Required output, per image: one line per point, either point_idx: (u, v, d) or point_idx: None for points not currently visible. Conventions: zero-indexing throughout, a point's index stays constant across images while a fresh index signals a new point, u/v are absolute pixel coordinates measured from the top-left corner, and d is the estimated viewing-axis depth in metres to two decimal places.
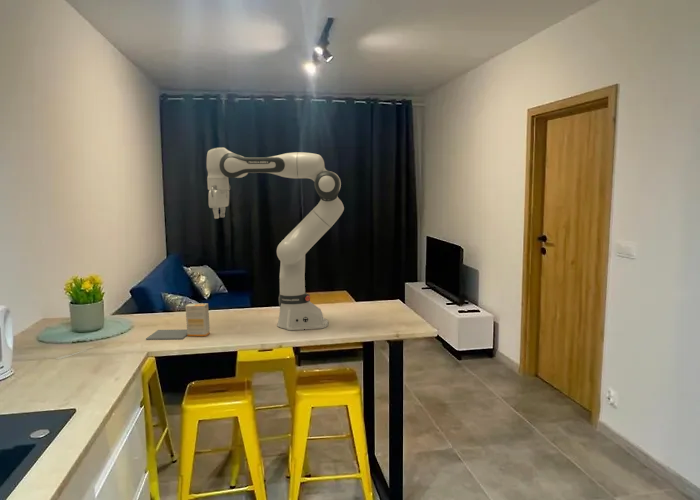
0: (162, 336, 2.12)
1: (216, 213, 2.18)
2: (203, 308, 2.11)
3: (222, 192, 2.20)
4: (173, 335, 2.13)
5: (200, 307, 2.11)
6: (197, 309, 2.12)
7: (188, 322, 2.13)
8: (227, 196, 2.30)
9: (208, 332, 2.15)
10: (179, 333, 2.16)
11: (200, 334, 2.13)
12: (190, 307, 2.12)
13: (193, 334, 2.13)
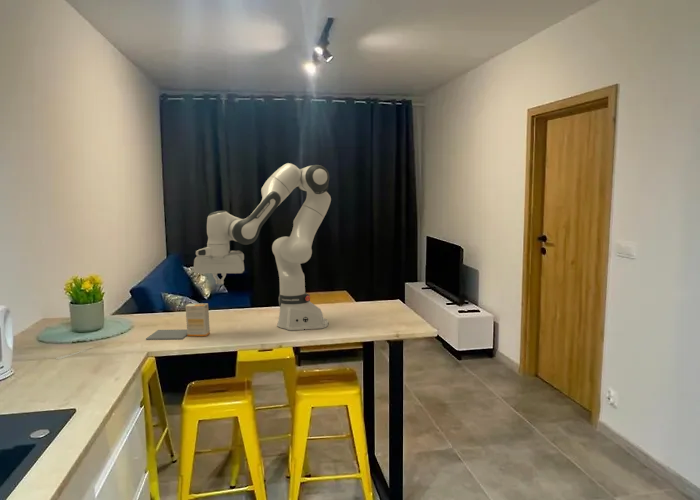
0: (162, 336, 2.12)
1: (223, 278, 2.13)
2: (203, 308, 2.11)
3: None
4: (173, 335, 2.13)
5: (200, 307, 2.11)
6: (197, 309, 2.12)
7: (188, 322, 2.13)
8: None
9: (208, 332, 2.15)
10: (179, 333, 2.16)
11: (200, 334, 2.13)
12: (190, 307, 2.12)
13: (193, 334, 2.13)
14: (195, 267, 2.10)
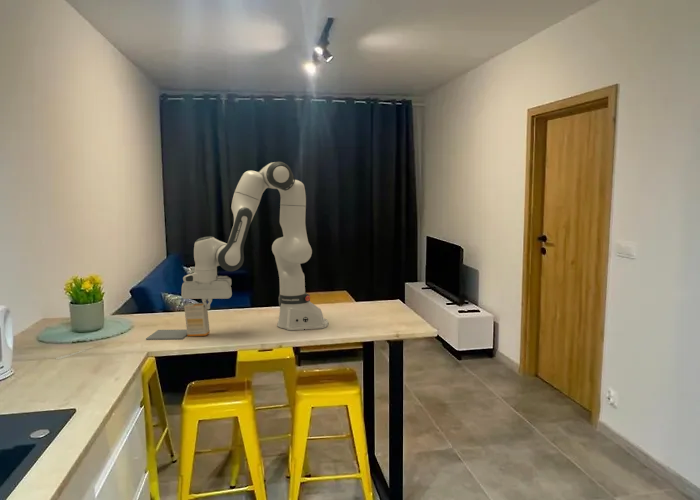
0: (162, 336, 2.12)
1: (210, 303, 2.14)
2: (202, 307, 2.11)
3: None
4: (173, 335, 2.13)
5: (199, 307, 2.11)
6: (196, 309, 2.12)
7: (187, 322, 2.13)
8: None
9: (208, 331, 2.15)
10: (179, 333, 2.16)
11: (200, 334, 2.13)
12: (189, 307, 2.12)
13: (193, 334, 2.13)
14: (183, 293, 2.11)
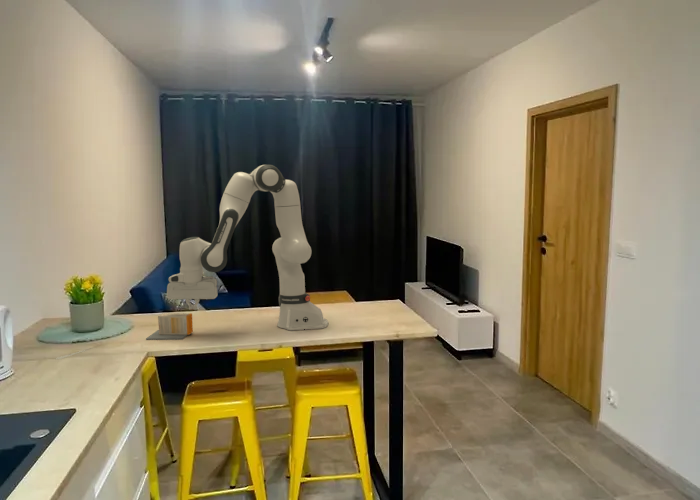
0: (162, 336, 2.12)
1: None
2: (160, 316, 2.13)
3: None
4: (173, 335, 2.13)
5: (159, 319, 2.13)
6: (161, 322, 2.13)
7: (175, 332, 2.14)
8: None
9: (188, 314, 2.15)
10: None
11: (186, 321, 2.13)
12: (160, 329, 2.14)
13: (186, 328, 2.13)
14: (168, 293, 2.11)
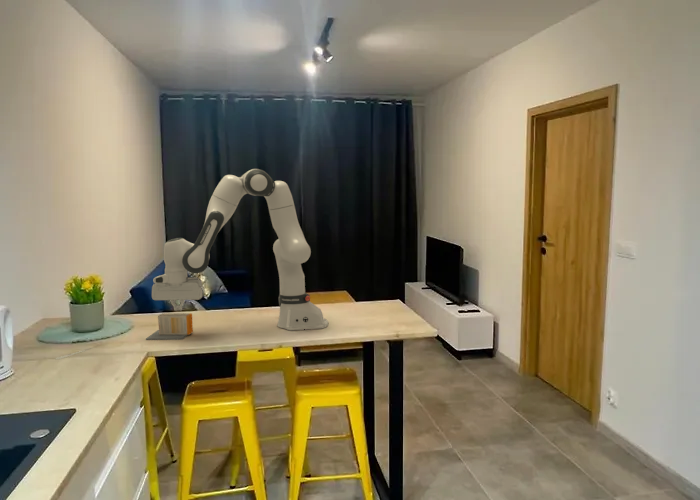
0: (162, 336, 2.12)
1: (182, 304, 2.14)
2: (160, 316, 2.13)
3: None
4: (173, 335, 2.13)
5: (159, 319, 2.13)
6: (161, 322, 2.13)
7: (175, 332, 2.14)
8: None
9: (188, 314, 2.15)
10: None
11: (186, 321, 2.13)
12: (160, 329, 2.14)
13: (186, 328, 2.13)
14: (153, 294, 2.12)
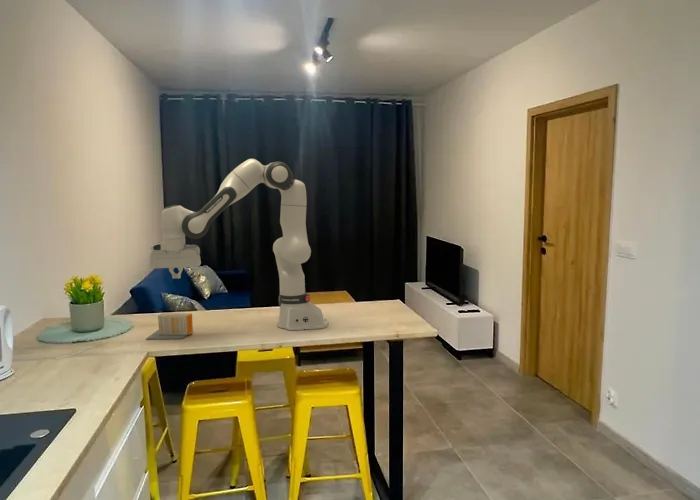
0: (162, 336, 2.12)
1: (180, 272, 2.13)
2: (160, 316, 2.13)
3: None
4: (173, 335, 2.13)
5: (159, 319, 2.13)
6: (161, 322, 2.13)
7: (175, 332, 2.14)
8: None
9: (188, 314, 2.15)
10: None
11: (186, 321, 2.13)
12: (160, 329, 2.14)
13: (186, 328, 2.13)
14: (151, 262, 2.10)
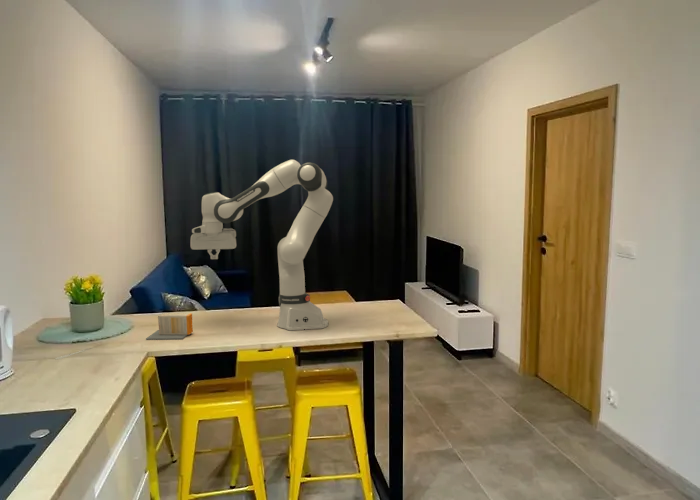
0: (162, 336, 2.12)
1: None
2: (160, 316, 2.13)
3: None
4: (173, 335, 2.13)
5: (159, 319, 2.13)
6: (161, 322, 2.13)
7: (175, 332, 2.14)
8: None
9: (188, 314, 2.15)
10: None
11: (186, 321, 2.13)
12: (160, 329, 2.14)
13: (186, 328, 2.13)
14: (191, 244, 2.31)
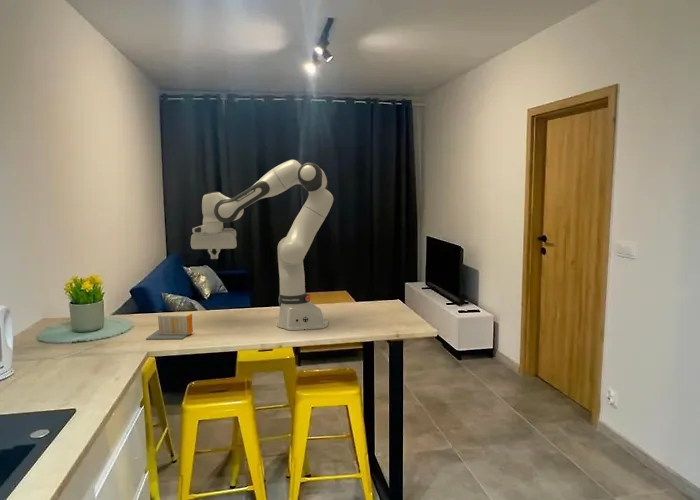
0: (162, 336, 2.12)
1: (218, 253, 2.34)
2: (160, 316, 2.13)
3: None
4: (173, 335, 2.13)
5: (159, 319, 2.13)
6: (161, 322, 2.13)
7: (175, 332, 2.14)
8: None
9: (188, 314, 2.15)
10: None
11: (186, 321, 2.13)
12: (160, 329, 2.14)
13: (186, 328, 2.13)
14: (192, 243, 2.31)
